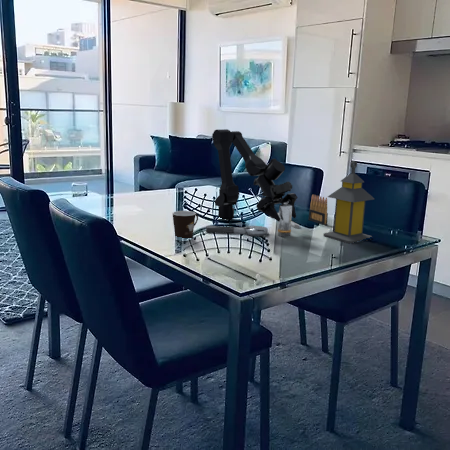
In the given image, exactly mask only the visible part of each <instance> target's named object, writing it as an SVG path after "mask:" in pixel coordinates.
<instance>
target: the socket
mask: <svg viewBox="0 0 450 450" xmlns="http://www.w3.org/2000/svg"><path fill="white" fill-rule="evenodd" d="M278 213H279V217H280V221H277V222H278V224H277V225H278V227H277V236H278V237H282V238H289V237H291V235H292V233H291V232H292V227H291V221H292V218H293V217H292V205H287V204H279V206H278Z"/></svg>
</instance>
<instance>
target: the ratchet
mask: <svg viewBox="0 0 450 450" xmlns="http://www.w3.org/2000/svg"><path fill="white" fill-rule="evenodd" d="M205 230H206V231H205V232H208V233H211V234H235V235H236V234H237V235H246V236H250V237H264V236H265V237H266V236H267V235H268V233H269V230H268V227H266V226H261V225H249V226H243V227H236V226H226V225H225V226H222V225H221V226H220V225H206V227H205Z"/></svg>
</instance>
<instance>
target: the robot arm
mask: <svg viewBox="0 0 450 450" xmlns="http://www.w3.org/2000/svg"><path fill="white" fill-rule="evenodd" d="M211 138H212V142H213V146H214V147H215V148H216V150H217V154H218V161H219V169H220V170H219V171H220V178H221V185H220V187H219V188H218V189H219V190H218V196H217V197H216V198H215V199H214V206H217V207H218V208H217V211H218V217H220V218H222V219H226V220H225V221H233V219H234V217H235V208H234V206H236V205H237V203H238V200H239V198H240V190H239V185H236V184H235V182H234V179H233V170H232V168H233V167H232V161H231V153H230V149H231V146H232V145H233V146H234V147H235V149H236V150H237V152H238V153H239V155H240V156H241V158H242V160H243V161H244V165H245V170H246V172H247V174H248V175H249V176H250V177H257V176H258V177H257V178H254V180H253V186H259V188H260V190H261V191H262V193H261V195H262V197H261V199H260V200H259V201H258V202H257V203H256V206H255V207H256V209H257V210H258V212H261V213H264V214H265V215H267V216H269V217H270V216H271V217H272V218H271V217H270V218H271V219H274V220H276V221H277V222H279V221H280V217H279V215H278V213H279V212H277V210H276V207H275V205H278V204H279V205H282V204H287V205H292V218H293V219H296V218H297V214H296V208H295V202H296V201H297V199H298V196H297V194H296V193H293V192H292V193H288V192H291V191H292V190H293V185H292V183H291V181H286V182H284V183H280V184H276V183H275V182H274V181H277V179H278V178H280V176H282V174H283V173H284V171H285V170H286V167H285V165H284V163H282V162H280V161H278V160H277V158H271V159H270V161H269V162H268V163H267V164H266V162H265V161H264V160H263V159H262V158H261V157H260V156H258V155H256V154H255V153H254V152H253V150H252V148H251V147H250V145H249V144H248V142H247V141H246V140H245V137H244V136H243V133H242V132H241V131H238V130H235V131H231V130H230V129H227V128H226V129H215V130H213V133H212V135H211ZM286 193H287V194H286ZM218 217H217V218H218Z"/></svg>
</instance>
